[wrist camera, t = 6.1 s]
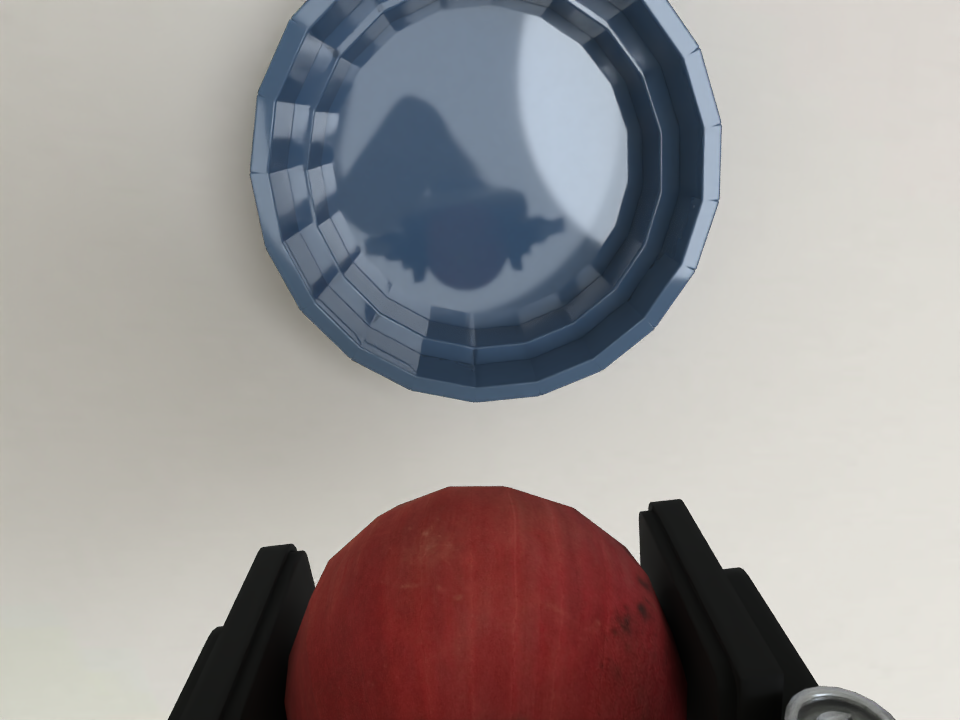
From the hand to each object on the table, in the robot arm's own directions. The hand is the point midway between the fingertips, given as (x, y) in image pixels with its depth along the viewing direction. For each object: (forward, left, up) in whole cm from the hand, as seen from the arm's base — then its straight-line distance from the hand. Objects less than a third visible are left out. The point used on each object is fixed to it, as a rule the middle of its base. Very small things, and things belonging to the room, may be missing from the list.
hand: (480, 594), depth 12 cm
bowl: (-6, +1, -17) cm, 18 cm away
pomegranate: (0, 0, -2) cm, 2 cm away
